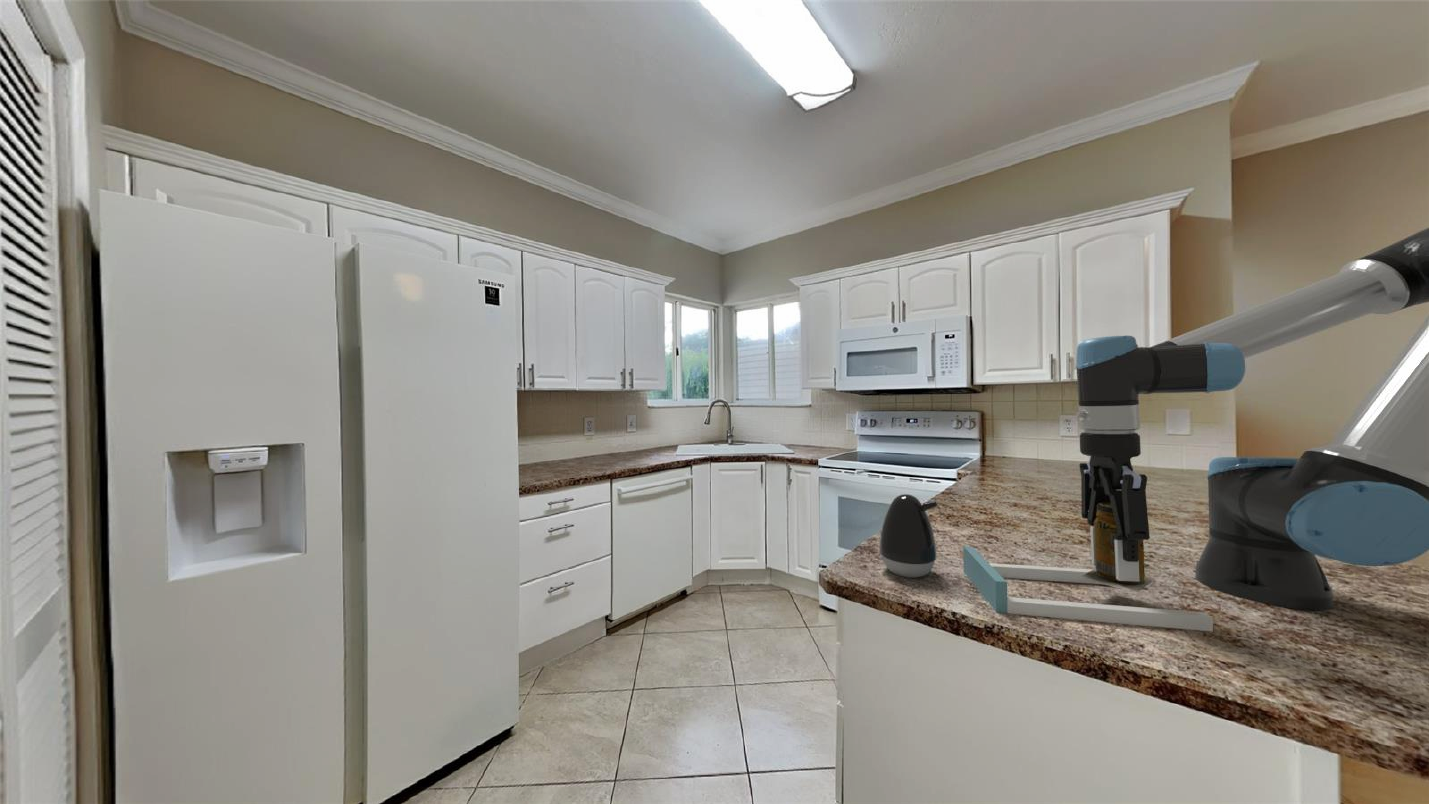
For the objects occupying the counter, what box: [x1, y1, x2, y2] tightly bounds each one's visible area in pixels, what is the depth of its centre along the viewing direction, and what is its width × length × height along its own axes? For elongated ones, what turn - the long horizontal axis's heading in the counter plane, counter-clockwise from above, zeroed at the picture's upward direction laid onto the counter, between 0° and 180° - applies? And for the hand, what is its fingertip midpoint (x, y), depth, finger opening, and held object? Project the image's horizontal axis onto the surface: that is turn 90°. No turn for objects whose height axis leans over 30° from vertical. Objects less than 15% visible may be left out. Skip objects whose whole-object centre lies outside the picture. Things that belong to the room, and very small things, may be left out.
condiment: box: [1080, 502, 1156, 593], centre depth 74 cm, size 7×8×12 cm
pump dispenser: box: [878, 493, 938, 579], centre depth 88 cm, size 10×10×15 cm
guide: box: [962, 545, 1214, 633], centre depth 76 cm, size 28×17×5 cm, turn 76°
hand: (1114, 572), depth 75 cm, fingers closed on condiment, 6 cm apart
